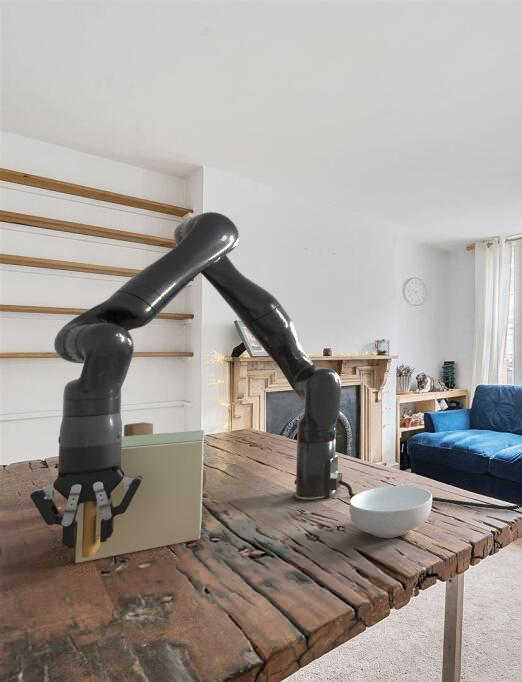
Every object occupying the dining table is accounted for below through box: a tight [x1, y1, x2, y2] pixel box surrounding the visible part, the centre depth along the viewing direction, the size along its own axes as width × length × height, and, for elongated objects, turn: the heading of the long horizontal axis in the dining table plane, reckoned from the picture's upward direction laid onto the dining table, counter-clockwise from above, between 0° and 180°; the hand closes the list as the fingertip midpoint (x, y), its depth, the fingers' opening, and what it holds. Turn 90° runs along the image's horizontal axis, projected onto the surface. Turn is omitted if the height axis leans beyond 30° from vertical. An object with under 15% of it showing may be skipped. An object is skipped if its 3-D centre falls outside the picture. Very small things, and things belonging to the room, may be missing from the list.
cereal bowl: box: [348, 485, 433, 539], centre depth 91 cm, size 17×17×7 cm
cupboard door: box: [75, 441, 203, 564], centre depth 78 cm, size 7×18×19 cm, turn 125°
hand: (88, 542), depth 72 cm, fingers open, 3 cm apart
